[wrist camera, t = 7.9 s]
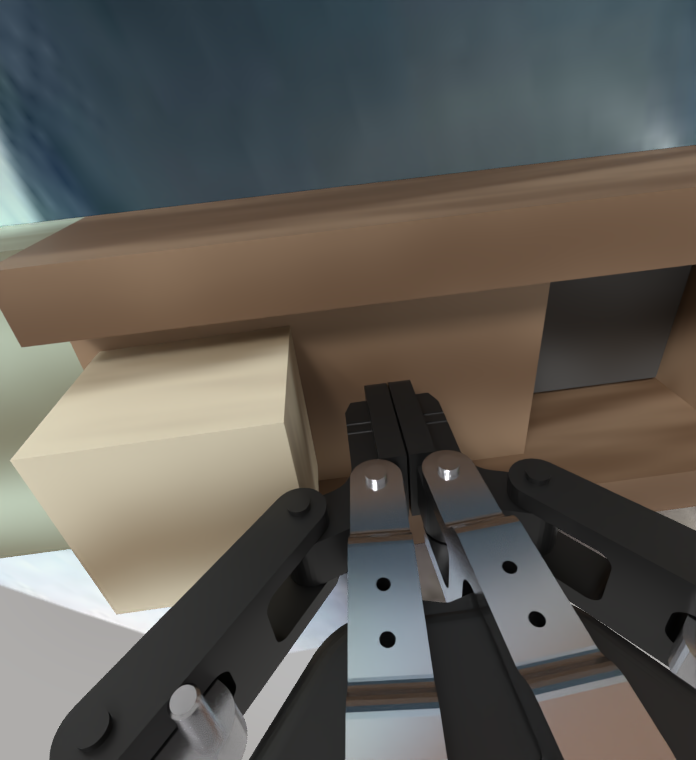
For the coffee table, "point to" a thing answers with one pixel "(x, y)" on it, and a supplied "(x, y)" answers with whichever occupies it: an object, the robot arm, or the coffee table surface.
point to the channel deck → (397, 313)
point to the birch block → (170, 458)
